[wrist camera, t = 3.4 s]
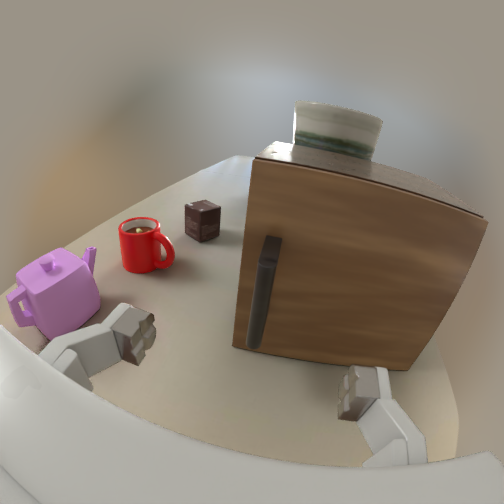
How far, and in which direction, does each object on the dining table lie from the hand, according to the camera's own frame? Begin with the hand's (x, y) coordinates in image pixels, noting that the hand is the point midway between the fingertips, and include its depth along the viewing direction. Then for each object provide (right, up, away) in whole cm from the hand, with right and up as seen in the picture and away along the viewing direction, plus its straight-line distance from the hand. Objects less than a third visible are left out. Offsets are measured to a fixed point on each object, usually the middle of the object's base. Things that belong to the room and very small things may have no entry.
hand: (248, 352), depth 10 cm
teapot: (-29, -6, +25) cm, 39 cm away
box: (-12, +8, +53) cm, 55 cm away
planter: (+17, +9, +62) cm, 65 cm away
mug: (-19, +1, +40) cm, 44 cm away
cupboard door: (+10, -12, +22) cm, 27 cm away
